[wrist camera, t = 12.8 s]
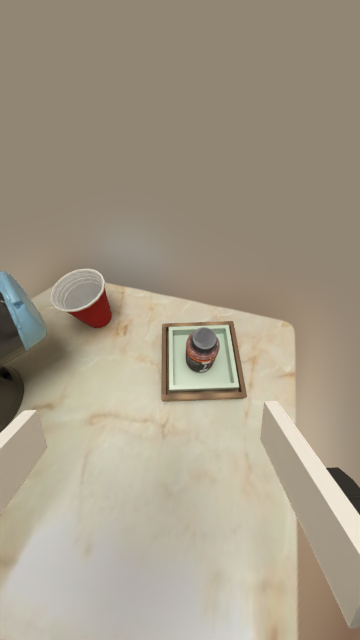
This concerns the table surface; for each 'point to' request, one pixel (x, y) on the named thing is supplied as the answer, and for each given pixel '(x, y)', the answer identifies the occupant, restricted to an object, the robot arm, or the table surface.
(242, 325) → the table surface
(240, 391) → the walnut crate
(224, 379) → the grey-green crate
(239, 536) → the table surface
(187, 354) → the supplement bottle
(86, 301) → the plastic cup
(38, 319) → the robot arm
